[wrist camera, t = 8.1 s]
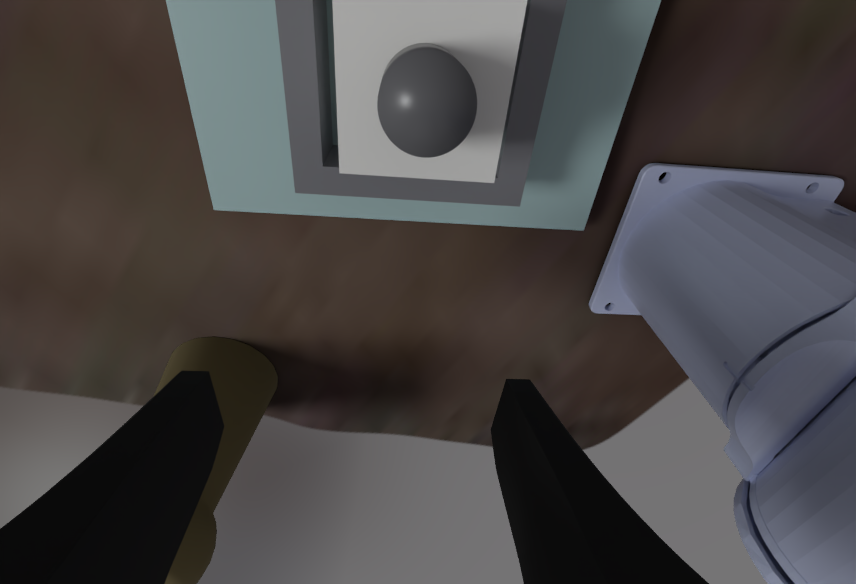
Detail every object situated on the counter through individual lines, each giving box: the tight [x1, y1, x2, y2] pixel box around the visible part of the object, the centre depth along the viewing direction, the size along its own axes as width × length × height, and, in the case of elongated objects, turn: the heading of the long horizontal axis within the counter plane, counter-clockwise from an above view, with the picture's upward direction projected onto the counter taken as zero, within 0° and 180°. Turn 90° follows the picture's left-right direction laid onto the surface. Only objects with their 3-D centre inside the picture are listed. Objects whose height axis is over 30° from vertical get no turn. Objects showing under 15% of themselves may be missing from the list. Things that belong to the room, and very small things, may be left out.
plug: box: [332, 0, 527, 183], centre depth 11 cm, size 4×4×8 cm
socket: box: [166, 0, 661, 231], centre depth 14 cm, size 16×11×4 cm
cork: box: [154, 337, 278, 584], centre depth 20 cm, size 6×6×11 cm
